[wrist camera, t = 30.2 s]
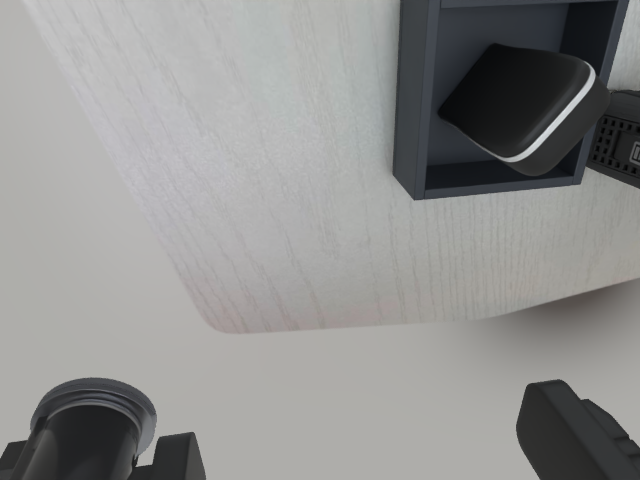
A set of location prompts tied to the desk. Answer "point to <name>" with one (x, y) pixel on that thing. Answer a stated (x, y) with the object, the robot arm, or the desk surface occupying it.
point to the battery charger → (527, 106)
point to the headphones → (618, 139)
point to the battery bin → (455, 64)
